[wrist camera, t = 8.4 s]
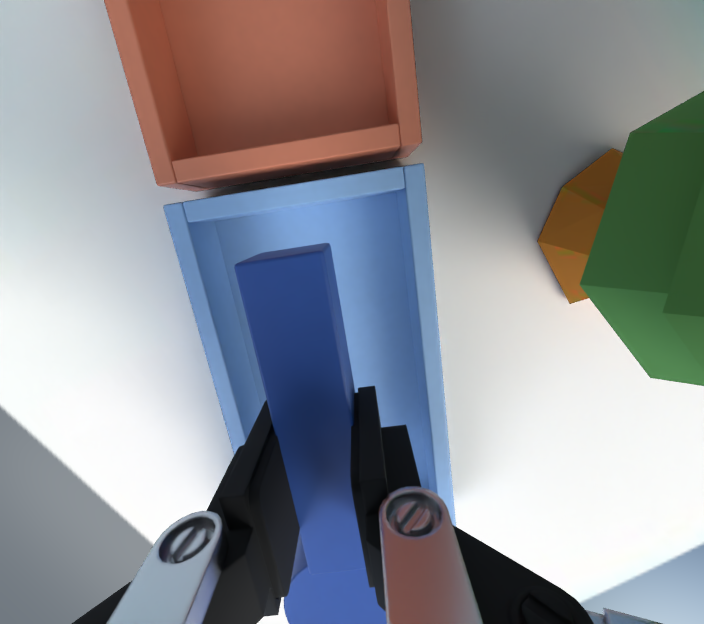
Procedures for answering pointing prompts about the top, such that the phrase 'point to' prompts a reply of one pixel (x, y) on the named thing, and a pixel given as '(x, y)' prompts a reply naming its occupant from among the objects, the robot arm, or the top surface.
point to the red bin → (268, 86)
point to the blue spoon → (311, 426)
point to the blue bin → (353, 286)
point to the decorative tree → (641, 242)
